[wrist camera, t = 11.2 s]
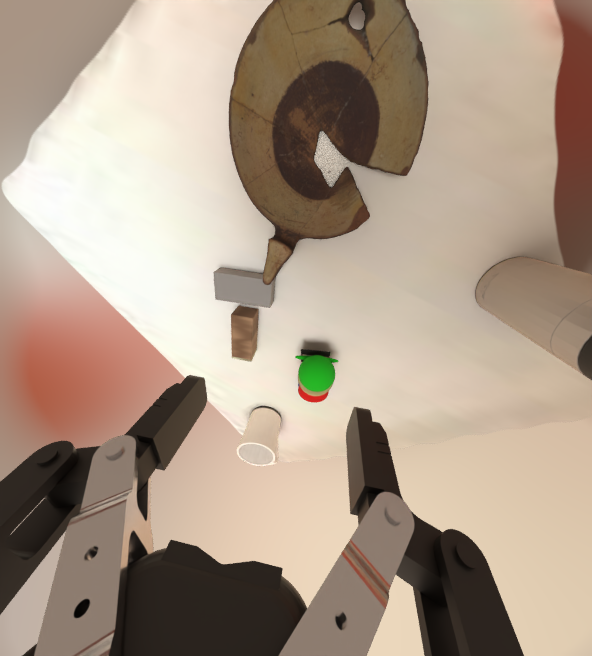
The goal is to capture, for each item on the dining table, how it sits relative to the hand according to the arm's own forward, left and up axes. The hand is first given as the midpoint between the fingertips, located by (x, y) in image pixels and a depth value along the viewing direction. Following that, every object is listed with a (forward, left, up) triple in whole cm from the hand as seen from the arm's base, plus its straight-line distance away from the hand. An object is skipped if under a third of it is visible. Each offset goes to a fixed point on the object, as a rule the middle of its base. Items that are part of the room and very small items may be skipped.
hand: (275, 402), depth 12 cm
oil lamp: (+2, -14, -30) cm, 33 cm away
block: (+11, +10, -28) cm, 32 cm away
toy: (-5, +22, -30) cm, 38 cm away
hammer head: (+11, +5, -30) cm, 32 cm away
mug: (+5, +42, -30) cm, 52 cm away
